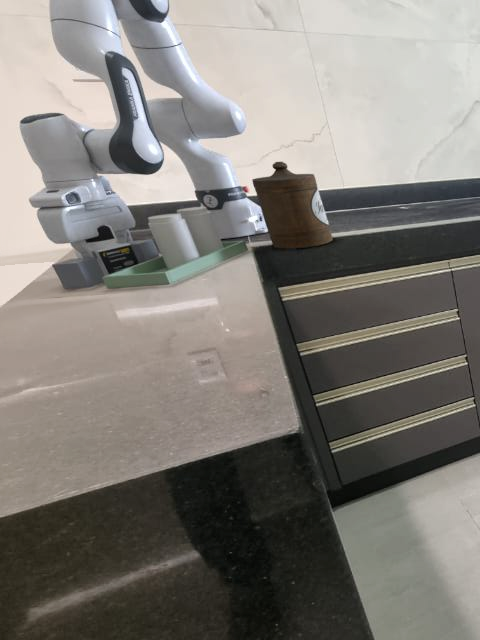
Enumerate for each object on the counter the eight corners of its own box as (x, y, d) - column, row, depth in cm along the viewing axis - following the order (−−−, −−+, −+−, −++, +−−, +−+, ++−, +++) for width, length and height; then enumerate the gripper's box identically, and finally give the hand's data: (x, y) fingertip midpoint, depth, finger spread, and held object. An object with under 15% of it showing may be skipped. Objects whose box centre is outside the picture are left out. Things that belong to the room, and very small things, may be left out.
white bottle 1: (179, 264, 131) (158, 214, 126) (209, 262, 132) (189, 212, 127) (161, 271, 125) (137, 219, 120) (191, 269, 126) (170, 217, 120)
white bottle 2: (204, 254, 140) (185, 207, 135) (231, 252, 141) (213, 205, 136) (188, 260, 134) (167, 212, 129) (216, 259, 135) (197, 210, 129)
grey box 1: (84, 284, 119) (71, 258, 117) (108, 283, 120) (95, 257, 117) (65, 291, 115) (51, 264, 112) (90, 289, 115) (77, 262, 113)
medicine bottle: (112, 281, 121) (86, 228, 116) (88, 280, 123) (61, 228, 118) (144, 272, 128) (121, 222, 123) (120, 272, 129) (96, 222, 124)
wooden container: (341, 241, 150) (317, 159, 141) (283, 252, 141) (254, 165, 131) (322, 235, 160) (299, 158, 150) (266, 245, 150) (238, 163, 140)
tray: (199, 255, 142) (194, 243, 141) (249, 251, 143) (244, 240, 142) (108, 291, 114) (101, 277, 113) (171, 286, 115) (165, 272, 114)
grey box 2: (141, 264, 136) (131, 240, 133) (162, 262, 136) (152, 239, 133) (127, 269, 131) (115, 245, 129) (149, 267, 132) (138, 244, 129)
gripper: (100, 189, 126) (126, 246, 132) (20, 200, 108) (55, 267, 114) (128, 187, 127) (153, 244, 133) (54, 198, 108) (86, 264, 114)
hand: (107, 255), depth 123 cm, fingers closed on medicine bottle, 8 cm apart
